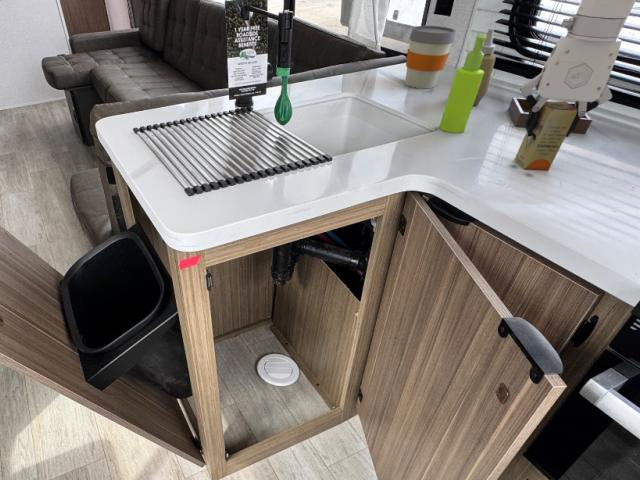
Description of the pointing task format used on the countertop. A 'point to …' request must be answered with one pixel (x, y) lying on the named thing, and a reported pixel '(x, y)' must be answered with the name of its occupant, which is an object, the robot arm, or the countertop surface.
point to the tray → (522, 108)
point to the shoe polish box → (546, 136)
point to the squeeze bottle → (486, 65)
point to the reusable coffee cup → (427, 54)
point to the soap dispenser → (464, 90)
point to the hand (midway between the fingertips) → (546, 131)
